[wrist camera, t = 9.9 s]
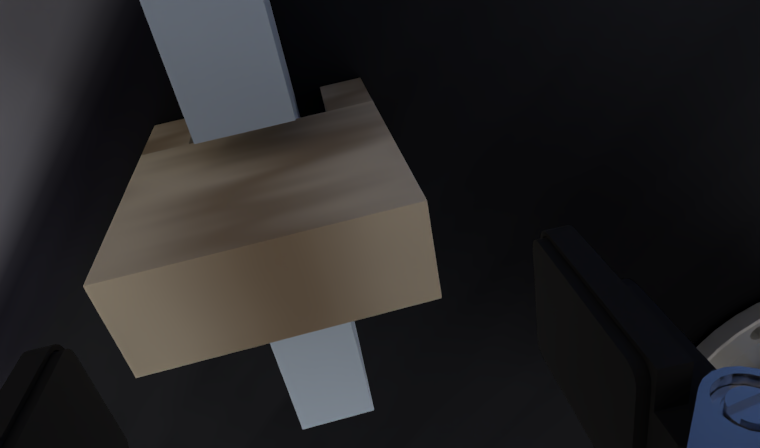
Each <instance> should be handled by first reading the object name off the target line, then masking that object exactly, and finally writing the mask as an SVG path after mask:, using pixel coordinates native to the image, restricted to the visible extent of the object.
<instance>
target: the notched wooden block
mask: <svg viewBox="0 0 760 448" xmlns="http://www.w3.org/2000/svg"><path fill="white" fill-rule="evenodd" d="M320 90H321V94H322V98H323V103H324V107H325V111H326V112H323V113H318V114H314V115H310V116H306V117H302V118H297V119H296V120H295V121H291V122H287V123H282V124H278V125H274V126H270V127H265V128H261V129H257V130H253V131H248V132H244V133H240V134H236V135H231V136H227V137H223V138H219V139H214V140H210V141H206V142H202V143H198V144H194V142H193V140H192V137H191V135H190V132H189V129H188V127H187V124H186V121H185V119H180V120H176V121H172V122H167V123H163V124H159V125H155V126H154V128H153V130H152V132H151V135H150V137H149V139H148V141H147V144H146V146H145V148H144V150H143V153H142V155H141V157H140V159H139V162H138V164H137V166H136V168H135V171H134V173H133V175H132V177H131V180H130V182H129V184H128V186H127V189H126V191H125V193H124V195H123V198H122V200H121V202H120V204H119V207H118V209H117V211H116V213H115V215H114V218H113V220H112V222H111V224H110V227H109V229H108V231H107V233H106V236H105V238H104V240H103V242H102V245H101V247H100V249H99V251H98V254H97V256H96V258H95V260H94V263H93V265H92V267H91V269H90V272H89V274H88V276H87V278H86V281H85V283H84V285H83V287H84V289H85V291H86V293H87V294H88V296H89V298H90V299H91V301H92V303H93V305H94V306H95V308H96V310H97V312H98V313H99V315H100V317H101V318H102V320H103V322H104V324H105V325H106V327H107V329H108V331H109V332H110V334H111V336H112V337H113V339H114V341H115V343H116V344H117V346H118V348H119V349H120V351H121V353H122V355H123V356H124V358H125V360H126V362H127V363H128V365H129V367H130V368H131V370H132V372H133V374H134V375H135V377H136V378H138V377H142V376H146V375H150V374H153V373H157V372H161V371H165V370H169V369H172V368H176V367H180V366H184V365H188V364H192V363H195V362H199V361H203V360H207V359H211V358H215V357H218V356H222V355H226V354H230V353H234V352H237V351H241V350H245V349H249V348H253V347H257V346H260V345H264V344H268V343H272V342H276V341H280V340H283V339H287V338H291V337H295V336H299V335H302V334H306V333H310V332H314V331H318V330H322V329H325V328H329V327H333V326H337V325H341V324H345V323H348V322H352V321H356V320H360V319H364V318H367V317H371V316H375V315H379V314H383V313H387V312H390V311H394V310H398V309H402V308H406V307H409V306H413V305H417V304H421V303H425V302H429V301H432V300H436V299H440V298H442V295H441V289H440V282H439V276H438V269H437V263H436V256H435V249H434V243H433V236H432V230H431V223H430V217H429V210H428V204H427V200H426V198H425V196H424V194H423V192H422V190H421V189H420V187H419V185H418V183H417V181H416V179H415V177H414V176H413V174H412V172H411V170H410V168H409V166H408V165H407V163H406V161H405V159H404V157H403V155H402V154H401V152H400V150H399V148H398V146H397V144H396V143H395V141H394V139H393V137H392V135H391V133H390V132H389V130H388V128H387V126H386V124H385V122H384V121H383V119H382V117H381V115H380V113H379V111H378V110H377V108H376V106H375V104H374V102H373V100H372V99H371V97H370V95H369V93H368V91H367V89H366V88H365V86H364V84H363V82H362V80H361V78H356V79H352V80H348V81H343V82H339V83H335V84H330V85H326V86H322V87H320Z"/></svg>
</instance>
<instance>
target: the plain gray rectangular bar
mask: <svg viewBox="0 0 760 448" xmlns="http://www.w3.org/2000/svg"><path fill="white" fill-rule="evenodd" d="M139 1H140V3H141V6H142V8H143V11H144V14H145V16H146V19H147V22H148V24H149V27H150V29H151V32H152V35H153V37H154V40H155V43H156V45H157V48H158V50H159V53H160V56H161V58H162V61H163V64H164V66H165V69H166V71H167V74H168V77H169V79H170V82H171V85H172V87H173V90H174V93H175V95H176V98H177V100H178V103H179V106H180V108H181V111H182V114H183V116H184V119H185V121H186V124H187V127H188V129H189V132H190V135H191V137H192V140H193V142H194V144H198V143H202V142H206V141H210V140H214V139H219V138H223V137H227V136H231V135H236V134H240V133H244V132H248V131H253V130H257V129H261V128H265V127H270V126H274V125H278V124H282V123H287V122H291V121H295V120H296V119H297V118H300V114H299V110H298V106H297V102H296V99H295V95H294V91H293V87H292V84H291V80H290V76H289V72H288V69H287V65H286V61H285V57H284V53H283V50H282V46H281V42H280V38H279V35H278V31H277V27H276V23H275V19H274V16H273V12H272V8H271V4H270V1H269V0H139ZM270 345H271V347H272V350H273V352H274V355H275V358H276V360H277V363H278V366H279V368H280V371H281V374H282V376H283V379H284V381H285V384H286V387H287V389H288V392H289V395H290V397H291V400H292V402H293V405H294V408H295V410H296V413H297V416H298V418H299V421H300V423H301V426H302V429H306V428H310V427H314V426H317V425H321V424H325V423H329V422H332V421H336V420H340V419H343V418H347V417H351V416H354V415H358V414H362V413H365V412H369V411H373V410H374V407H373V403H372V398H371V394H370V389H369V385H368V380H367V376H366V371H365V367H364V362H363V358H362V353H361V349H360V344H359V340H358V335H357V331H356V326H355V322H354V321H352V322H348V323H345V324H341V325H337V326H333V327H329V328H325V329H322V330H318V331H314V332H310V333H306V334H302V335H299V336H295V337H291V338H287V339H283V340H280V341H276V342H272V343H270Z"/></svg>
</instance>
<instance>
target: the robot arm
mask: <svg viewBox="0 0 760 448" xmlns="http://www.w3.org/2000/svg"><path fill="white" fill-rule="evenodd" d="M533 262H534V280H535V299H536V318H537V336H538V344H539V348H540V351H541V354H542V356H543V358H544V360H545V362H546V363H547V365H548V367H549V369H550V370H551V372H552V374H553V376H554V377H555V379H556V381H557V383H558V384H559V386H560V388H561V390H562V391H563V393H564V395H565V397H566V398H567V400H568V402H569V404H570V405H571V407H572V409H573V411H574V412H575V414H576V416H577V418H578V419H579V421H580V423H581V425H582V426H583V428H584V430H585V432H586V433H587V435H588V437H589V439H590V440H591V442H592V444H593V446H594V448H760V302H758V303H756V304H755V305H753V306H751V307H749V308H747V309H746V310H744V311H742V312H740V313H739V314H737V315H735V316H734V317H732V318H731V319H730V320H728V321H727V322H725V323H724V324H723V325H721V326H720V327H718V328H717V329H716V330H714V331H713V332H712V333H711V334H710V335H709V336H708V337H707V338H706V339H705V340H703V341H702V342H701V343H700V344H699V345H698V346H697V347H695V346H694V345H693V344H692V343H691V341H690V340H689V339H688V338H687V337H686V336H685V335H684V334H683V333H682V332H681V331H680V330H679V329H678V328H677V326H676V325H675V324H674V323H673V322H672V321H671V320H670V319H669V318H668V317H667V316H666V315H665V314H664V313H663V311H662V310H661V309H660V308H659V307H658V306H657V305H656V304H655V303H654V302H653V301H652V300H651V299H650V298H649V297H648V295H647V294H646V293H645V292H644V291H643V290H642V289H641V288H640V287H639V286H638V285H637V284H636V283H635V282H634V281H633V280H631V279H628V278H623V279H620V278H619V277H618V276H617V275H616V274H615V272H614V271H613V270H612V269H611V268H610V267H609V266H608V265H607V264H606V263H605V261H604V260H603V259H602V258H601V257H600V256H599V255H598V254H597V253H596V251H595V250H594V249H593V248H592V247H591V246H590V245H589V244H588V243H587V241H586V240H585V239H584V238H583V237H582V236H581V235H580V234H579V233H578V231H577V230H576V229H575V228H574V227H573V226H571V225H565V226H561V227H556V228H552V229H548V230H543V231H542V232H541V235H540V239H536V240H534V241H533ZM0 448H128V442H127V439H126V437H125V436H124V434H123V432H122V431H121V429H120V427H119V426H118V424H117V422H116V421H115V419H114V417H113V416H112V414H111V413H110V411H109V409H108V408H107V406H106V404H105V403H104V401H103V399H102V398H101V396H100V394H99V393H98V391H97V389H96V388H95V386H94V385H93V383H92V381H91V380H90V378H89V376H88V375H87V373H86V371H85V370H84V368H83V366H82V365H81V363H80V361H79V360H78V358H77V357H76V355H75V353H74V352H73V351H72V350H70V349H66V350H65V349H64V348H63V347H62V346H60V345H56V344H55V345H50V346H46V347H42V348H38V349H33V350H29V351H26V352H24V353H23V354H22V356H21V357H20V359H19V360H18V362H17V364H16V365H15V367H14V369H13V370H12V372H11V374H10V375H9V377H8V379H7V380H6V382H5V384H4V385H3V387H2V389H1V390H0Z"/></svg>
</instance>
